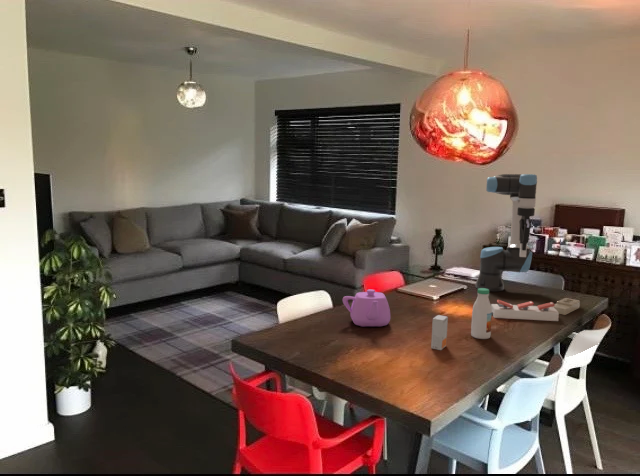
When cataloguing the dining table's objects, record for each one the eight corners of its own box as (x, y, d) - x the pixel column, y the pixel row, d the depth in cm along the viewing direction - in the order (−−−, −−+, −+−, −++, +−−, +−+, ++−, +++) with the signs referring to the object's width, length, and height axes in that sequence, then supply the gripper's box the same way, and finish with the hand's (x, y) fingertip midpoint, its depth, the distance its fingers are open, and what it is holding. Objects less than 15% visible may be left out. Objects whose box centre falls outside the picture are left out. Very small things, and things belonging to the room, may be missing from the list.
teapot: (340, 317, 241) (341, 285, 239) (386, 317, 242) (387, 285, 240) (344, 334, 219) (345, 298, 216) (395, 334, 219) (396, 298, 217)
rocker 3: (537, 307, 244) (537, 305, 244) (552, 304, 243) (552, 301, 243) (539, 309, 241) (538, 307, 241) (554, 306, 239) (554, 303, 239)
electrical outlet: (550, 304, 253) (565, 297, 266) (549, 312, 254) (564, 305, 266) (565, 307, 248) (580, 300, 260) (565, 315, 249) (579, 308, 261)
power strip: (475, 311, 253) (476, 300, 252) (552, 315, 248) (553, 304, 247) (478, 316, 244) (479, 306, 243) (558, 321, 239) (559, 310, 238)
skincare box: (441, 350, 201) (443, 320, 199) (430, 348, 203) (432, 318, 201) (446, 346, 206) (448, 316, 204) (436, 343, 208) (437, 314, 206)
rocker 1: (496, 301, 246) (497, 299, 246) (510, 306, 246) (511, 304, 246) (498, 303, 243) (499, 301, 243) (512, 308, 242) (513, 306, 242)
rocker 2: (517, 306, 245) (516, 304, 245) (532, 303, 244) (531, 300, 244) (518, 308, 242) (518, 306, 242) (534, 305, 241) (533, 302, 241)
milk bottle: (480, 340, 212) (483, 292, 209) (466, 334, 219) (469, 288, 216) (494, 337, 216) (497, 290, 213) (480, 332, 223) (483, 286, 220)
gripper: (514, 205, 254) (511, 253, 258) (521, 208, 242) (517, 259, 245) (531, 206, 253) (527, 254, 257) (538, 208, 241) (534, 259, 244)
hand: (522, 256), depth 251 cm, fingers closed
